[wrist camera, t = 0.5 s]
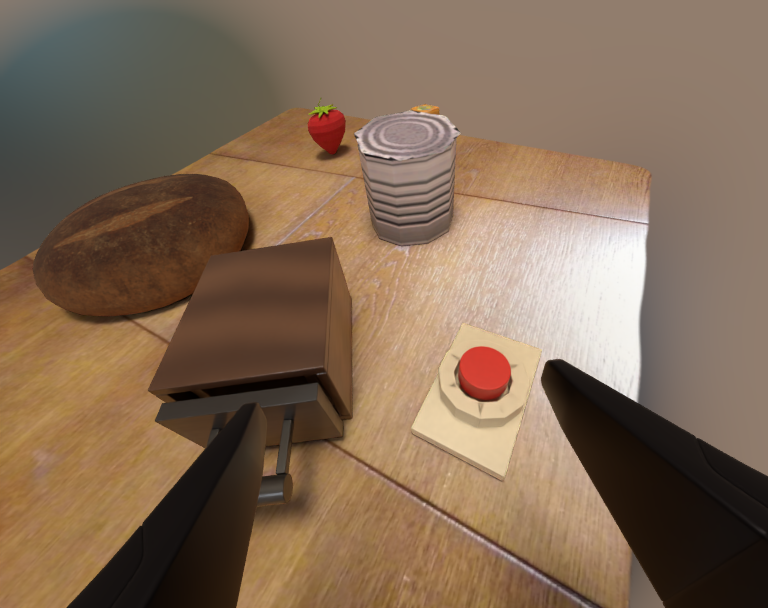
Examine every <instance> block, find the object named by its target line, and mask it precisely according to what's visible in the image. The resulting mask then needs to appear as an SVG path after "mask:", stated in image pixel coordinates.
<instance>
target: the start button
mask: <svg viewBox="0 0 768 608" xmlns="http://www.w3.org/2000/svg"><path fill="white" fill-rule="evenodd" d="M510 376H511V367H510V364H509V362H508V360H507V359H506V357H505V356H504V355H503V354H502V353H501V352H499V351H497V350H496V349H493V348H490V347H486V346H478V347H474V348H471V349H469V350H468V351H466V352H465V353H464V354H463V355H462V357H461V359H460V363H459V372H458V379H459V382H460V385H461V386H462V388H463V389H464V390H465V391H466V392H467V393H468V394H469V395H471V396H472V397H474V398H477V399H481V400H491V399H495V398H497V397H499V396H500V395H501V394H502V393H503V392H504V391H505V389H506V387H507V384H508V382H509V379H510Z"/></svg>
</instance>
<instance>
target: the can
mask: <svg viewBox="0 0 768 608" xmlns="http://www.w3.org/2000/svg"><path fill="white" fill-rule="evenodd" d="M459 134H460V131H459V130H458V129H457V128H456V127H455V126H454V125H453V124H452V123H451V122H450V120H449V119H448V118H447V117H446V116H441V115H436V114H429V113H423V112H417V111H406V112H401V113H396V114H390V115H385V116H380V117H375V118H374V119H373V120H371V121H370V122H369V123H367V124H366V125H365V126H363V127H362V128H361V129H359V130H358V131H357V132H356V133H354V135H355V137H356V140H357V142H358V150H359V155H360V160H361V166H362V171H363V177H364V182H365V187H366V193H367V198H368V204H369V209H370V214H371V220H372V225H373V227H374V229H375V231H376V233H377V235H378V236H379V238H380V239H382V240H385V241H388V242H391V243H394V244H397V245H400V246H406V245H416V244H426V243H429V242H431V241H433V240H435V239H436V238H438V237H440V236H441V235H443V234H445V233H446V232H448V230H449V227H450V224H451V221H452V217H453V201H454V178H455V156H456V138H457V136H458V135H459Z"/></svg>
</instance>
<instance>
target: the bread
mask: <svg viewBox="0 0 768 608" xmlns="http://www.w3.org/2000/svg"><path fill="white" fill-rule="evenodd" d="M248 226H249V216H248V212H247V209H246V205H245V201H244V200H243V198H242V196H241V194H240V193H239V192H238V191H237V189H236V188H235V187H233V186H232V185H231V184H230V183H228V182H227V181H224V180H222V179H219V178H216V177H212V176H208V175H201V174H179V175H170V176H164V177H158V178H154V179H150V180H145V181H141V182H138V183H134V184H130V185H128V186H124V187H121V188H118V189H116V190H113V191H111V192H108V193H106V194H103V195H101V196H99V197H97V198H95V199H93V200H91V201H89V202H87V203H85V204H84V205H82V206H81V207H79V208H77V209H76V210H75V211H73V212H72V213H70V214H69V215H68V216H67V217H66V218H64V219H63V220H62V221H61V222H60V223H59V224H58V225H57V226H56V227H55V228H54V229H53V230H52V231H51V232H50V233H49V235H48V236H47V237H46V239H45V240H44V241H43V243H42V245H41V246H40V248H39V250H38V252H37V254H36V257H35V259H34V263H33V274H34V279H35V282H36V285H37V286H38V287H39V289H40V290H41V292H42V293H43V294H44V296H45V297H46V298H47V299H48V300H49V301H51V302H52V303H54V304H55V305H57V306H60V307H62V308H64V309H66V310H68V311H71V312H74V313H77V314H82V315H91V316H118V315H128V314H134V313H141V312H146V311H150V310H154V309H157V308H161V307H164V306H167V305H169V304H172V303H174V302H176V301H178V300H180V299H183V298H185V297H187V296H189V295H190V294H192V293H193V292H194V291H195V288H196V286H197V284H198V282H199V280H200V278H201V276H202V273H203V271H204V269H205V267H206V265H207V263H208V261H209V259H210V256H213V255H219V254H226V253H232V252H238V251H240V250H241V248H242V246H243V243H244V240H245V237H246V235H247V232H248Z"/></svg>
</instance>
